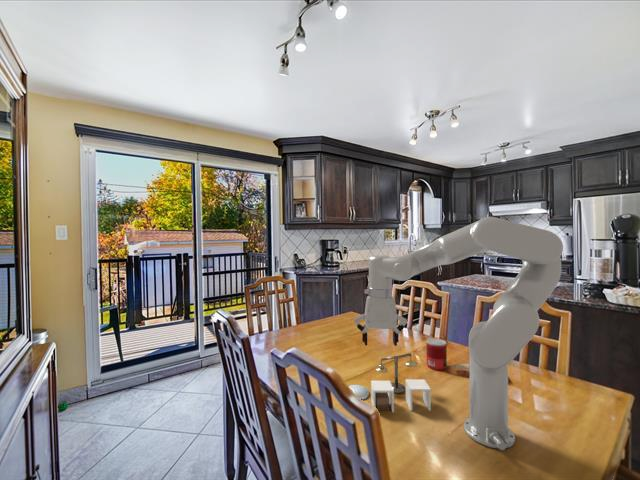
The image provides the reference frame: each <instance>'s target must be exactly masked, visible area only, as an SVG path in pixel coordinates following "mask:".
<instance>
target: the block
mask: <svg viewBox="0 0 640 480" xmlns="http://www.w3.org/2000/svg"><path fill="white" fill-rule="evenodd" d="M375 409H376V410H377V409H378V410H377V411H390V404H389V396H388V392H375Z"/></svg>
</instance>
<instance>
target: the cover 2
mask: <svg viewBox="0 0 640 480" xmlns="http://www.w3.org/2000/svg"><path fill="white" fill-rule="evenodd" d="M404 385H405V401H406V404H407V406H408V408H409V410H410V412H412V411H413V392H422V400H423V402H424V405H425V404H426V405H425V406H426V408H427V410H428V411H429V412H431V410H432V407H431V406H432V399H431V398H432V397H431V396H432V395H431V393H432V391H431V388H430V386H429V384H428V382H427V381H426V379H413V378H412V379H410V378H409V379H408V378H407V379H405V384H404Z"/></svg>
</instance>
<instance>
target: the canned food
mask: <svg viewBox="0 0 640 480" xmlns="http://www.w3.org/2000/svg"><path fill="white" fill-rule="evenodd" d="M447 358H448V357H447V342H446V341H445V340H443V339H440V338H434V337H433V338H427V339H426V365H427V367H428V368H429V369H431V370H434V371H445V370H446V369H447V367H448V366H447V365H448V364H447V363H448V362H447Z"/></svg>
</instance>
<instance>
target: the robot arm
mask: <svg viewBox="0 0 640 480" xmlns="http://www.w3.org/2000/svg"><path fill="white" fill-rule="evenodd" d="M485 251H491V252H494V253H497V254H500V255H504V256H507V257H510V258H514V259H517V260H521V261H522V265H521V269H520V271H519V272H518V274H517V275H516V276H515V277H514V279H513V281H512V282H511V283H510V284H509V285H508V286H507V288H506V289H505V290H504V291H503V293H502V294H501V295H500V296H499V297H498V298H497V299H496V300H495V302H494V303H493V307H492V312H493V313H492V314H491V315H490V317H489V318H488V319H487V320H486V321H480V322H476V323H475V324H474V325H473V326H472V327H471V329H470V331H469V335H468V352H469V363H468V364H469V370H470V376H469V378H468V380H469V383H468V384H469V417H468V418H466V419H465V420H464V421H463V429H464V432H465V433H466V434H467V435H468V437H470V438H471V439H472V440H473V441H475V442H476V443H478V444H480V445H483V446H486V447H488V448H492V449H493V448H494V449H499V450H500V451H505V450H506V449H509V448H511V447H512V446H514V444H515V442H516V437H515V433H514V432H513V430H511V428H509V398H508V397H509V387H508V386H509V385H508V384H509V382H508V378H509V371H508V370H509V366H508V365H509V364H510V363H511V362H512V361H513V360H514V359H515V358H516V357H517V355H518V354H520V353H521V351H522V350H523V349H524V348H525V347H526V346H527V344H528V343H529V342H530V341H531V340H532V339H533V337H534V336H535V335H536V333H537V332H538V329H539V326H540V316H539V313H538V311H539V310H540V308H541V307H542V306H543V305H544V303H546V301H547V300H548V299H549V297H550V296H551V295H552V294H553V292H554V290H555V289H556V287H557V286H558V284H559V282H560V279H561V276H562V261H561V260H562V259H561V256H562V255H563V251H564V245H563V241H562V239H561V238H560V237H559V235H557V233H555V232H553V231H551V230H547V229H542V228H539V227H533V226H530V225H526V224H523V223H518V222H513V221H510V220H507V219H503V218H500V217H496V216H486V217H482V218H480V219H479V220H477V221H475V222H473V223H470V224H468V225H465V226H463V227H461V228H458V229H456V230H454V231H452V232H450V233H447V234H444V235H442V236H440V237H438V238H436V239H435V240H434V241H432V242H431V243H429V244H427V245H424V246H423V247H420V248H418V249H416V250H413V251H411V252H409V253H406V254H404V255H400V256H398V257H397V256H395V257H394V256H393V257H390V256H389V255H372V256H370V257H369V258H368V288H366V289H364V290H363V291H364V294H365V295H366V294H367V295H368V296H366V301H365V305H364V306H365V308H364V313H362V314H361V315H359V316H357V317H355V318H353V321H354V323H355V325H356V327H357V329H358V330H360V332H361V335H362V336H361V339H362V343H364V346H368V331H369V329H370V330H393V331H392V343H393V346H395V347H397V346H398V343H399V334H400V332H402V331H403V329H404V328H405V326H406V324H407V323H408V320H407V319H406V318H405V317H403V316H401V315H399V314H397V304H396V299H395V297H394V296H393V280H395V281H400V282H402V281H403V282H404V281H408V280H410V279H411V278H413V277H414V276H416V275H419V274H421V273H424V272H427V271H428V270H431V269H433V268H437V267H439V266H448V265H451V264H454V263H457V262H460V261H463V260H465V259H468V258H470V257H474V256H476V255H478V254H481V253H484V252H485ZM362 320H364V325H362V324H361V323H360V322H361V321H362ZM398 321H400V324H399V325H398Z"/></svg>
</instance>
